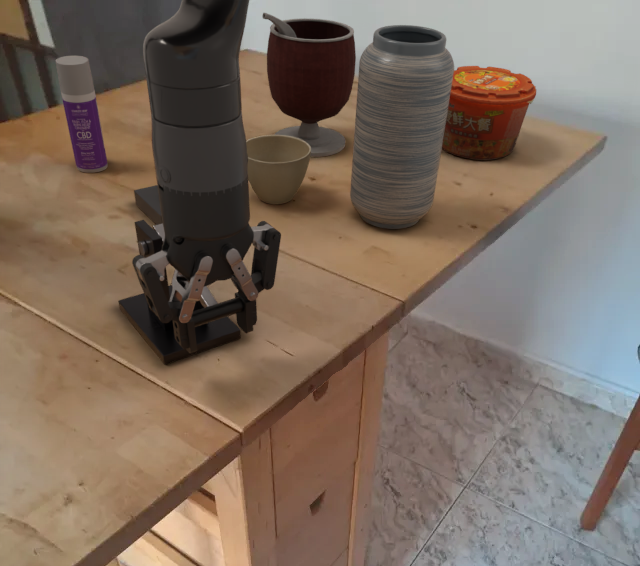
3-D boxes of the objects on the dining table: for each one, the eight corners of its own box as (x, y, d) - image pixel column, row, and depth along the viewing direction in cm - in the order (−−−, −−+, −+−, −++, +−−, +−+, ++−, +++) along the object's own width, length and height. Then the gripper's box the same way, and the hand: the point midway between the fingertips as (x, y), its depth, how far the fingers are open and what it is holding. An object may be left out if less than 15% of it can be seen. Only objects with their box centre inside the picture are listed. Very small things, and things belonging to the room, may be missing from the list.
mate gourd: (319, 122, 123) (324, -7, 109) (366, 149, 115) (377, 12, 101) (244, 138, 116) (239, 2, 103) (288, 167, 108) (289, 24, 94)
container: (83, 175, 103) (61, 67, 93) (71, 164, 106) (49, 58, 96) (113, 168, 105) (94, 62, 95) (100, 158, 108) (81, 53, 98)
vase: (344, 230, 94) (357, 43, 78) (353, 193, 102) (366, 18, 86) (429, 238, 93) (459, 51, 77) (431, 201, 101) (458, 25, 85)
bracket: (241, 338, 75) (236, 239, 66) (164, 365, 71) (149, 263, 63) (191, 287, 82) (181, 192, 74) (119, 309, 78) (100, 211, 70)
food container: (438, 123, 125) (448, 59, 117) (527, 137, 121) (543, 72, 114) (418, 155, 114) (428, 85, 106) (515, 171, 110) (532, 101, 103)
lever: (242, 317, 68) (245, 301, 66) (192, 334, 65) (193, 318, 63) (186, 234, 72) (187, 216, 70) (137, 247, 70) (137, 229, 68)
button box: (163, 231, 91) (159, 202, 89) (135, 205, 97) (131, 177, 94) (235, 212, 96) (234, 185, 93) (205, 188, 101) (203, 161, 99)
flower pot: (259, 177, 105) (257, 129, 100) (319, 190, 102) (321, 141, 98) (229, 204, 98) (226, 154, 93) (293, 218, 96) (294, 167, 91)
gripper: (254, 139, 62) (261, 300, 73) (101, 171, 56) (134, 342, 67) (300, 167, 57) (299, 335, 69) (138, 206, 51) (166, 383, 62)
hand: (217, 337), depth 68 cm, fingers closed on lever, 5 cm apart
